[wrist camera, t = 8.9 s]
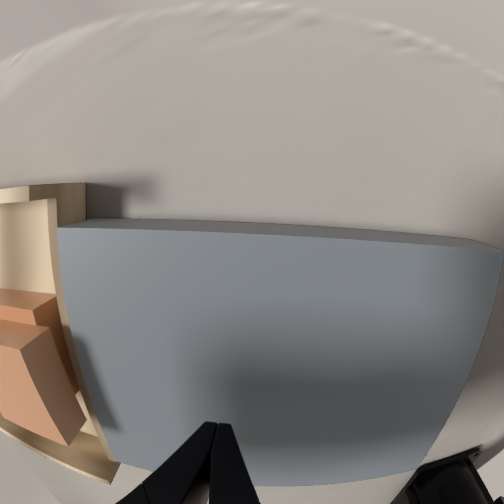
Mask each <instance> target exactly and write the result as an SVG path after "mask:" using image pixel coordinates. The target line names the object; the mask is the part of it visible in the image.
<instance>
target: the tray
mask: <svg viewBox="0 0 504 504" xmlns="http://www.w3.org/2000/svg"><path fill="white" fill-rule="evenodd" d="M85 220H86V183H61V184H43V185H29V186H21V187H13V188H6V189H0V288H4V289H12V290H21V291H30V292H40V293H50V294H56V298H57V303H58V308H59V313H60V318H61V323H62V328H63V332H64V336H65V340H66V344H67V348H68V352H69V356H70V359H71V363H72V366H73V369H74V373H75V376H76V379H77V382H78V385H79V388H80V390H79V391H78V392H77V393H76V395H75V396H76V398H77V400H78V402H79V404H80V407H81V409H82V411H83V413H84V415H85V417H86V419H87V421H86V422H85V424H84V425H83V427H82V428H81V429H80V431H79V432H78V434H77V435H76V437H75V438H74V440H73V441H72V443H71V444H70V446H69V447H68V446H65V445H63V444H60V443H57V442H55V441H52V440H50V439H48V438H45V437H43V436H41V435H38V434H36V433H34V432H32V431H29V430H27V429H25V428H23V427H21V426H19V425H17V424H15V423H13V422H11V421H9V420H7V419H5V418H4V417H3V416H2V414H1V412H0V430H1V431H2V432H4V433H5V434H7V435H8V436H10V437H11V438H13V439H15V440H16V441H18V442H19V443H21V444H23V445H24V446H26V447H28V448H30V449H31V450H33V451H35V452H37V453H39V454H41V455H42V456H44V457H46V458H48V459H50V460H52V461H54V462H56V463H58V464H60V465H63V466H65V467H67V468H69V469H71V470H74V471H76V472H78V473H80V474H83V475H85V476H88V477H90V478H93V479H95V480H98V481H101V482H103V483H106V484H109V485H111V483H112V481H113V478H114V476H115V474H116V472H117V470H118V468H119V466H120V464H121V462H117V461H115V459H114V457H113V455H112V452H111V450H110V448H109V446H108V444H107V441H106V439H105V437H104V434H103V432H102V429H101V427H100V424H99V422H98V419H97V417H96V414H95V411H94V408H93V406H92V403H91V400H90V397H89V394H88V391H87V388H86V385H85V382H84V378H83V375H82V372H81V368H80V365H79V361H78V358H77V354H76V350H75V346H74V342H73V338H72V333H71V329H70V324H69V319H68V314H67V309H66V303H65V298H64V292H63V285H62V278H61V270H60V262H59V252H58V241H57V227H61V226H65V225H69V224H73V223H77V222H81V221H85Z"/></svg>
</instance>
